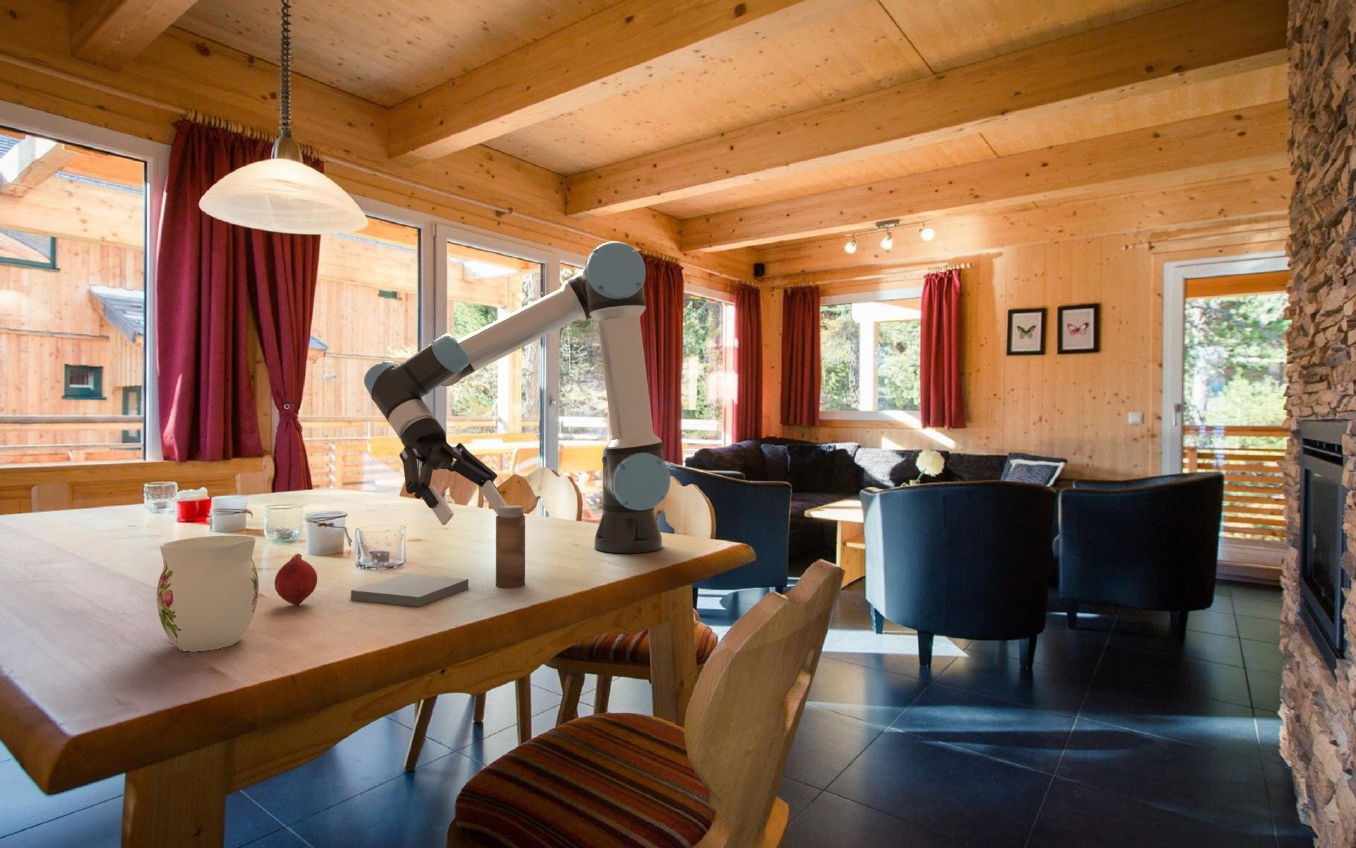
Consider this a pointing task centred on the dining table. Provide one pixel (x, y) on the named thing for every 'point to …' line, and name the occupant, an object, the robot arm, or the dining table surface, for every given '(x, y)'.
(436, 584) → the slate board
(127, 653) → the dining table surface
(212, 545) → the pitcher
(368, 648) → the dining table surface
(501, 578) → the pepper mill
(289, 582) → the onion
